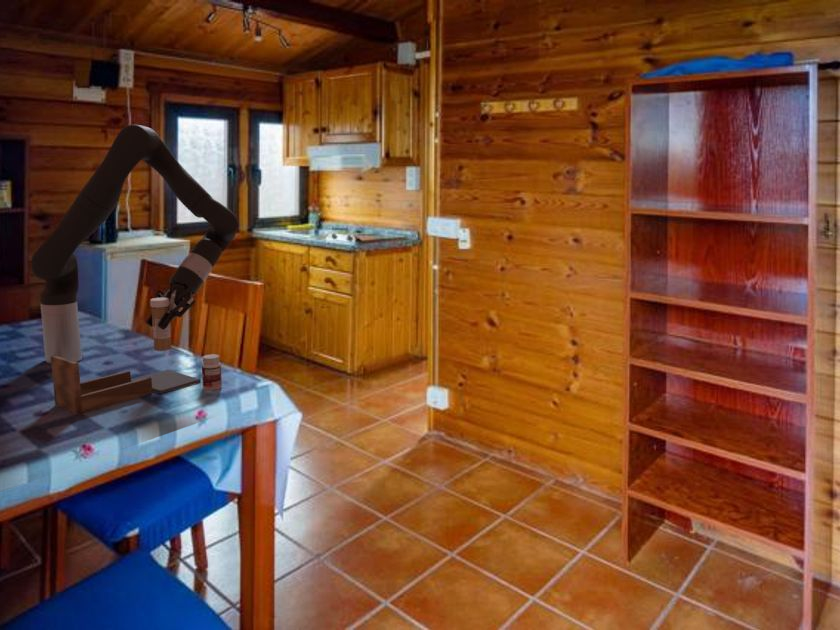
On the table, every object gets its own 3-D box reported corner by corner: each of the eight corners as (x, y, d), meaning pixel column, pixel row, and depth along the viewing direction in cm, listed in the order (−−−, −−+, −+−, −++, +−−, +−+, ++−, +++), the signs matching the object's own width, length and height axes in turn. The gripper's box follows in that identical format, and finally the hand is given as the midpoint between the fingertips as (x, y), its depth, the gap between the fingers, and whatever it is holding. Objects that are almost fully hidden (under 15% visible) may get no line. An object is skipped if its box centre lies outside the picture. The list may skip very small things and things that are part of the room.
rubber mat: (128, 383, 175) (127, 380, 175) (167, 372, 185) (167, 369, 185) (160, 393, 167) (160, 390, 167) (200, 382, 177) (200, 379, 177)
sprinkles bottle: (155, 347, 176) (151, 297, 173) (173, 346, 177) (170, 296, 174) (152, 351, 172) (148, 300, 169) (170, 351, 173) (167, 300, 170)
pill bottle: (205, 384, 175) (203, 353, 173) (223, 384, 176) (222, 353, 174) (200, 390, 171) (199, 358, 169) (219, 390, 171) (218, 358, 169)
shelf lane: (55, 405, 158) (50, 356, 155) (129, 385, 173) (125, 340, 171) (78, 414, 152) (74, 363, 150) (152, 393, 168) (149, 346, 165)
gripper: (165, 262, 180) (128, 314, 173) (200, 267, 172) (162, 321, 165) (183, 279, 185) (147, 330, 178) (217, 285, 177) (181, 338, 170)
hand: (154, 326), depth 171 cm, fingers closed on sprinkles bottle, 4 cm apart
